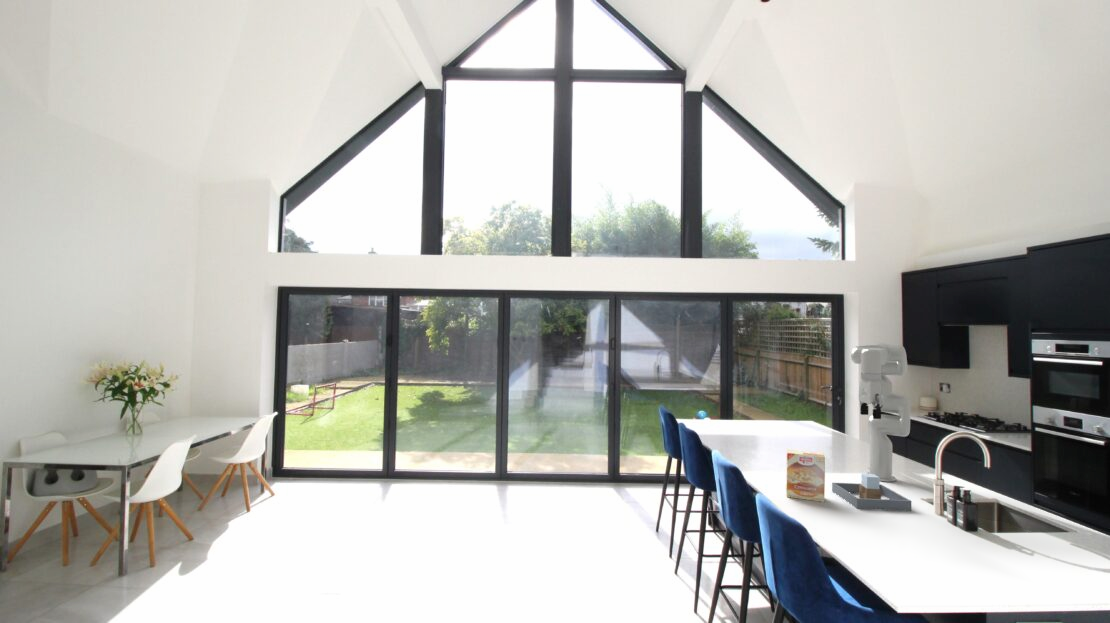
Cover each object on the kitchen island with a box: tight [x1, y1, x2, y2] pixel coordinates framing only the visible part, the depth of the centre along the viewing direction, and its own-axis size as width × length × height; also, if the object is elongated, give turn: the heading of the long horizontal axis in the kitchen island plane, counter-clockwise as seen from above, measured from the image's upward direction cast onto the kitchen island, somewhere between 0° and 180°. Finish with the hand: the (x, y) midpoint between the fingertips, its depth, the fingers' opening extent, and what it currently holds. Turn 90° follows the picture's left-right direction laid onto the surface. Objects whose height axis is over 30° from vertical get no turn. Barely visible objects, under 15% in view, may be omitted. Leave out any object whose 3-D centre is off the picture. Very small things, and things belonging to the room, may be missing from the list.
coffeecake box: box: [785, 449, 826, 503], centre depth 225 cm, size 15×7×20 cm, turn 68°
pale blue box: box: [861, 473, 881, 489], centre depth 223 cm, size 5×5×5 cm
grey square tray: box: [831, 482, 912, 512], centre depth 223 cm, size 22×22×4 cm
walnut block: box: [858, 483, 882, 499], centre depth 223 cm, size 6×6×6 cm
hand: (870, 416), depth 223 cm, fingers open, 9 cm apart
